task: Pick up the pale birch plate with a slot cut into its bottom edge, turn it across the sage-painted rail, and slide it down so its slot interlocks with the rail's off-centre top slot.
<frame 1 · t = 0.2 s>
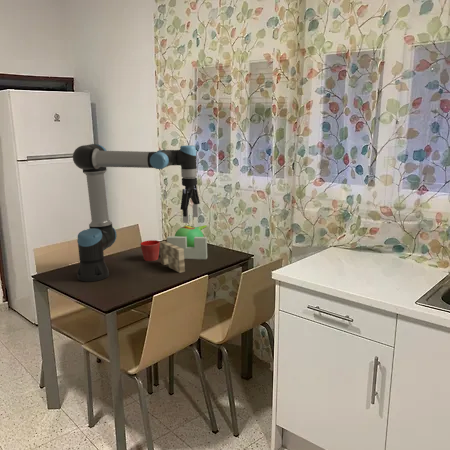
hand: (191, 219, 228), 27 cm above the table, tool pointing down, fingers open, 13 cm apart
flower pot: (151, 259, 256), on the table
birch slotted plate: (172, 267, 241), on the table
green rounded piece: (190, 248, 275), on the table
sage slotted rail: (187, 258, 256), on the table
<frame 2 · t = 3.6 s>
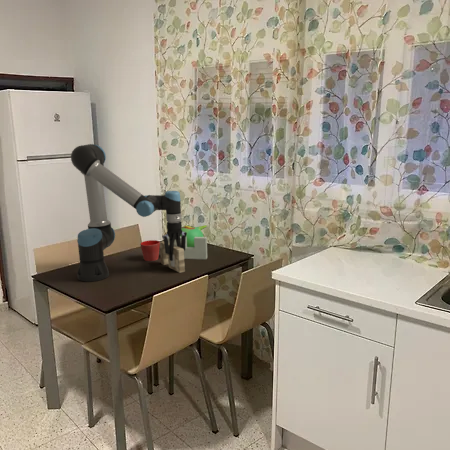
hand: (176, 265, 237), 2 cm above the table, tool pointing down, fingers closed on birch slotted plate, 3 cm apart
birch slotted plate: (172, 267, 241), on the table, touching gripper
everything else where it was.
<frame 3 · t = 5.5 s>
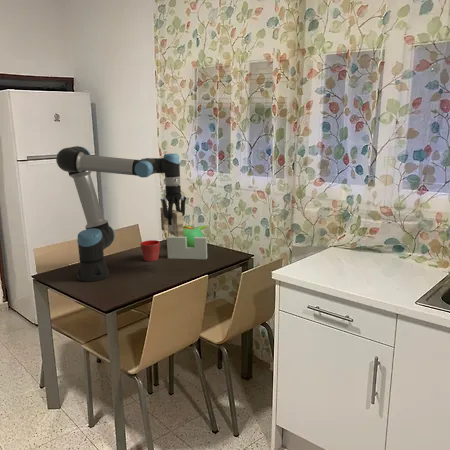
hand: (175, 230, 233), 21 cm above the table, tool pointing down, fingers closed on birch slotted plate, 3 cm apart
birch slotted plate: (172, 232, 237), point 19 cm above the table, touching gripper
everything else where it was.
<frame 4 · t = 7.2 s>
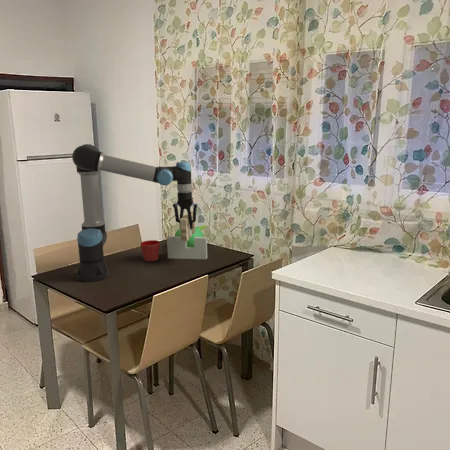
hand: (186, 234, 245), 15 cm above the table, tool pointing down, fingers closed on birch slotted plate, 3 cm apart
birch slotted plate: (188, 236, 249), point 13 cm above the table, touching gripper
everything else where it was.
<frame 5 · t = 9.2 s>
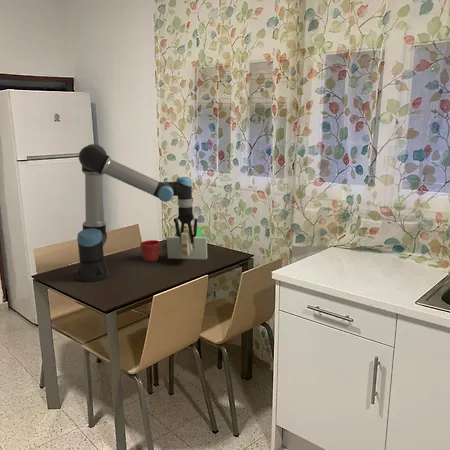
hand: (187, 249, 247), 8 cm above the table, tool pointing down, fingers closed on birch slotted plate, 3 cm apart
birch slotted plate: (189, 250, 251), point 5 cm above the table, touching gripper
everything else where it was.
when the fingers open (3 cm above the table, at t = 10.9 s): birch slotted plate stays where it is, on the table.
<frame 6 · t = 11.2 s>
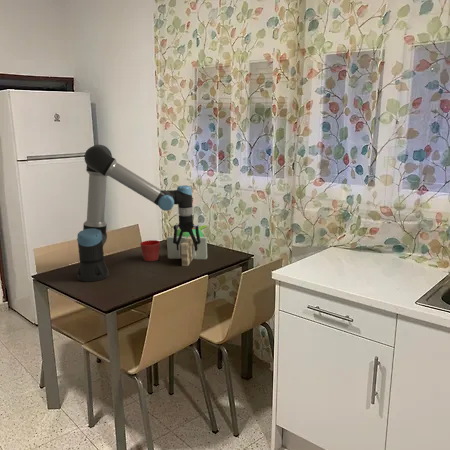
hand: (187, 256, 248), 4 cm above the table, tool pointing down, fingers open, 7 cm apart
birch slotted plate: (189, 260, 252), on the table
everything else where it was.
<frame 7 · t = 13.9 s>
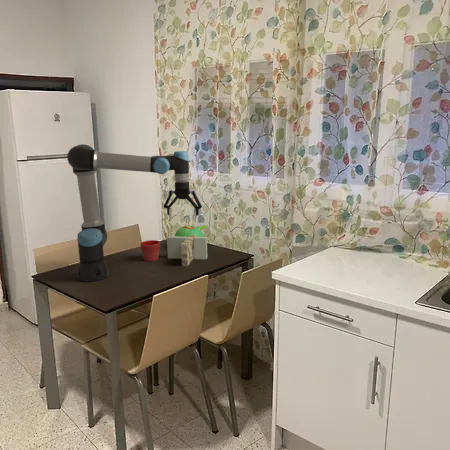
hand: (183, 221, 242), 23 cm above the table, tool pointing down, fingers open, 13 cm apart
nothing on the table moved.
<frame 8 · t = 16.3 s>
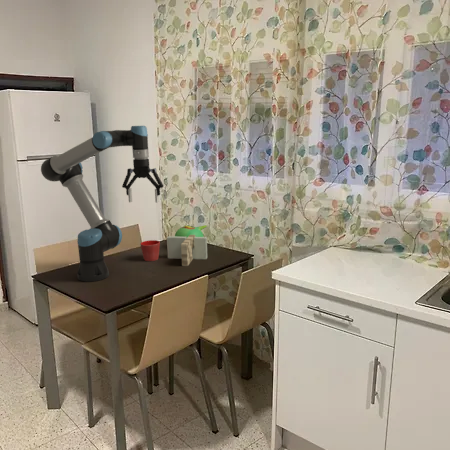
hand: (143, 202, 224), 37 cm above the table, tool pointing down, fingers open, 13 cm apart
nothing on the table moved.
at the end: birch slotted plate 0.1 cm from the target spot on the table beside the sage slotted rail, on the table; birch slotted plate tilted 0°; the gripper is holding nothing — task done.
